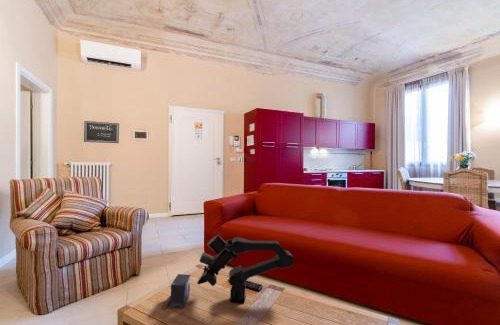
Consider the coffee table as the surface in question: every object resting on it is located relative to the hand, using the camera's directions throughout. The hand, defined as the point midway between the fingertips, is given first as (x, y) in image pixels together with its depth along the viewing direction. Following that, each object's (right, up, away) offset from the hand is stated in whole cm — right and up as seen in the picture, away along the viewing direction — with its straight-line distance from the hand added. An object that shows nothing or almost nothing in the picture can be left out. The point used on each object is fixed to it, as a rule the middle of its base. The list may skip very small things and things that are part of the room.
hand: (197, 283), depth 117 cm
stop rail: (-13, -8, 0) cm, 15 cm away
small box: (-8, -8, -1) cm, 11 cm away
